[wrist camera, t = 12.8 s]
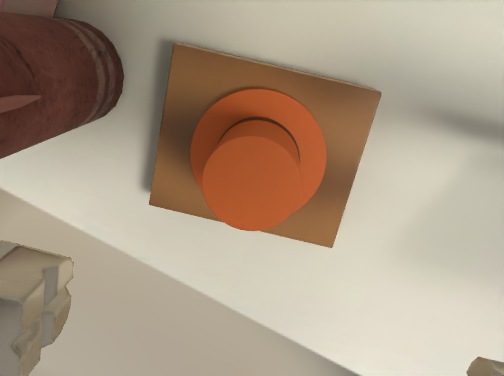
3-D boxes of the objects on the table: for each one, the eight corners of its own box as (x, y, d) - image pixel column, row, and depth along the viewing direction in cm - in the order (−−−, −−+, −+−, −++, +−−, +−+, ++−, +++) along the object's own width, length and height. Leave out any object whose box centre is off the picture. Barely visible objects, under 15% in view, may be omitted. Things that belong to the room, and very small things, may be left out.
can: (138, 117, 28) (2, 186, 14) (44, 123, 28) (-169, 194, 15) (122, 15, 26) (-51, -12, 13) (21, 24, 26) (-244, 6, 13)
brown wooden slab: (181, 43, 26) (173, 42, 24) (375, 88, 26) (382, 92, 24) (157, 194, 29) (148, 205, 27) (329, 235, 29) (332, 248, 27)
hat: (205, 73, 25) (183, 82, 19) (342, 105, 25) (357, 123, 19) (182, 201, 27) (157, 240, 22) (306, 230, 27) (310, 275, 22)
